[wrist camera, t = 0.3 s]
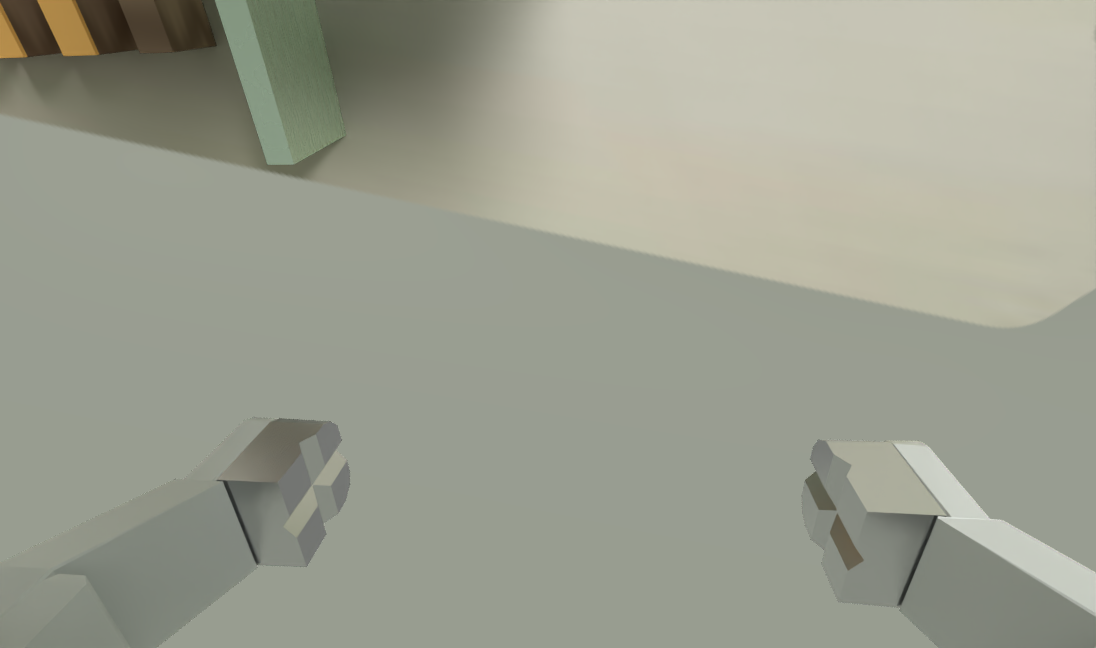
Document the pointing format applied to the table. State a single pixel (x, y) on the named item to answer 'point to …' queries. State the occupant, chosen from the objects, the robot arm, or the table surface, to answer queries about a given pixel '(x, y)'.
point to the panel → (284, 75)
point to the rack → (101, 27)
